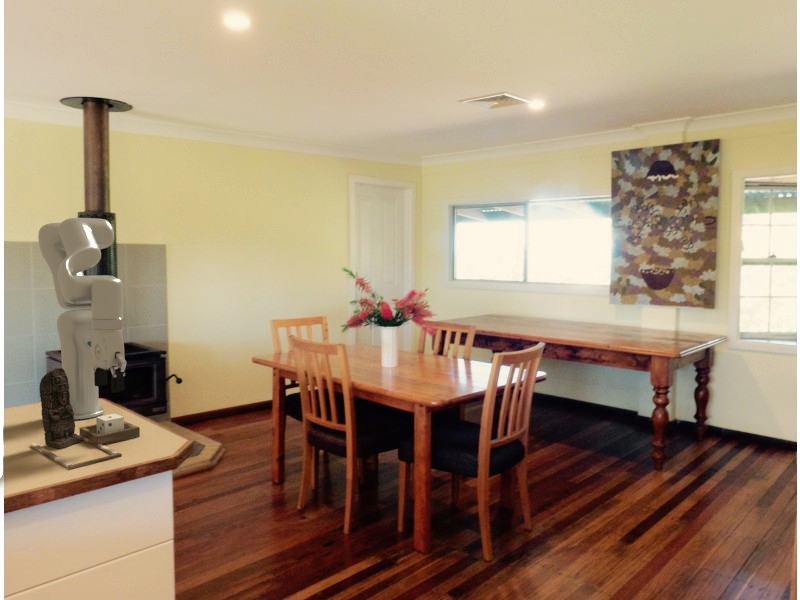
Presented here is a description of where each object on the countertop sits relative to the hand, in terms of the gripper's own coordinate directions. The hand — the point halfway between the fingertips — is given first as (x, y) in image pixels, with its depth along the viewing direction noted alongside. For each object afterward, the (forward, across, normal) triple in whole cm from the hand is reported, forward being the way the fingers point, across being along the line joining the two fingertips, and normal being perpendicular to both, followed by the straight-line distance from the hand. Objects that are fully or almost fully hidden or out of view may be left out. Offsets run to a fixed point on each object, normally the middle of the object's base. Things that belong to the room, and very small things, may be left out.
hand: (109, 388), depth 165 cm
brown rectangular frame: (+13, +4, -11) cm, 18 cm away
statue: (+14, -4, -11) cm, 18 cm away
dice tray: (+13, 0, 0) cm, 13 cm away
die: (+13, 0, 0) cm, 13 cm away
